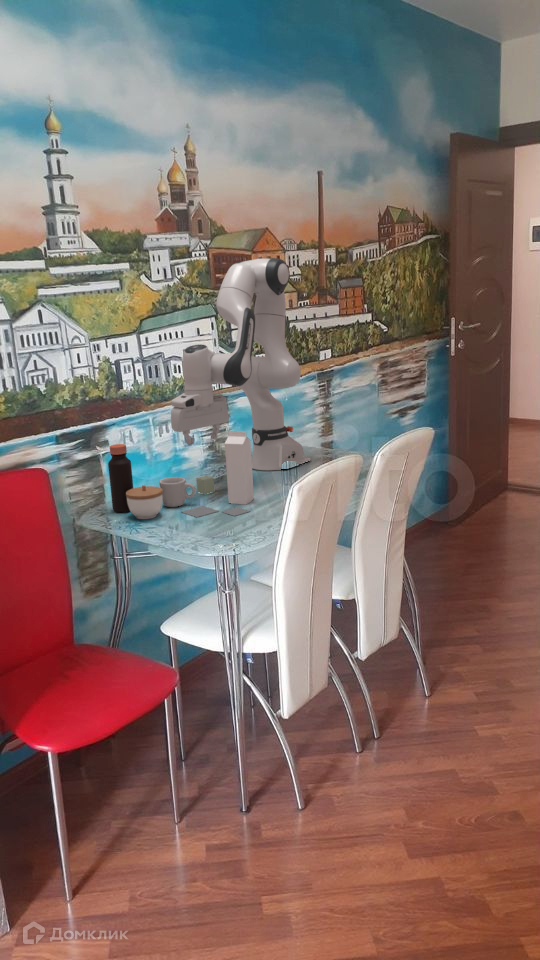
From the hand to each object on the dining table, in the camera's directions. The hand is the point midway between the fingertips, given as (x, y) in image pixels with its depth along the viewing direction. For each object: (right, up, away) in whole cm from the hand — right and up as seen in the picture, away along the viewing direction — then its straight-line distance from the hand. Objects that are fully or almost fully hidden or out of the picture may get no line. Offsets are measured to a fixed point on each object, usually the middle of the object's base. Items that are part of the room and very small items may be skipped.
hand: (202, 441), depth 263 cm
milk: (+13, -19, -8) cm, 24 cm away
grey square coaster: (+11, -22, -18) cm, 31 cm away
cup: (-7, -20, -8) cm, 23 cm away
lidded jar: (-15, -23, -18) cm, 33 cm away
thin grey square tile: (+1, -22, -16) cm, 27 cm away
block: (+1, -16, +4) cm, 17 cm away
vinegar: (-23, -22, -10) cm, 33 cm away
